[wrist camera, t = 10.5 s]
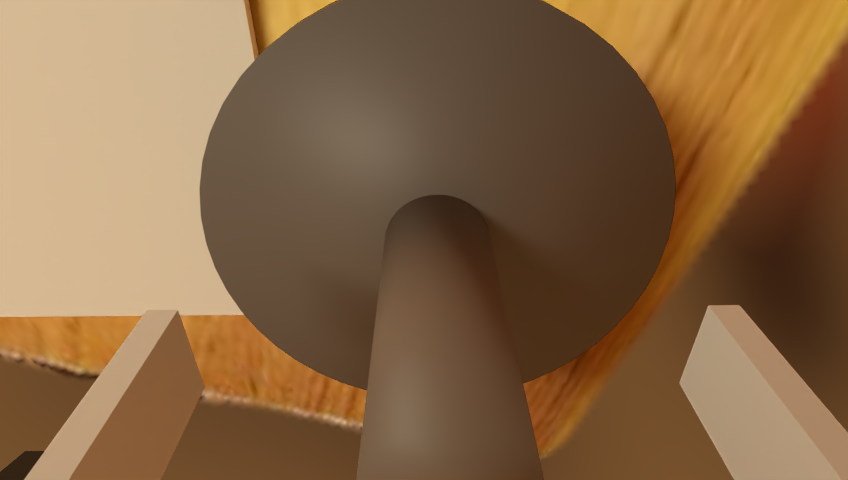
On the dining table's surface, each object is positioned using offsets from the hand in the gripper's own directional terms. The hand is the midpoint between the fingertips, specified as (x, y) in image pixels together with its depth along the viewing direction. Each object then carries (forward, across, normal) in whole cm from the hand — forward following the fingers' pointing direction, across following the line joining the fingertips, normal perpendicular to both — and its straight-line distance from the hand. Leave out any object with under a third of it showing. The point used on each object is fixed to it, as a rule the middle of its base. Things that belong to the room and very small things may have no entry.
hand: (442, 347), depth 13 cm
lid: (+6, 0, 0) cm, 6 cm away
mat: (+11, -16, +1) cm, 20 cm away
